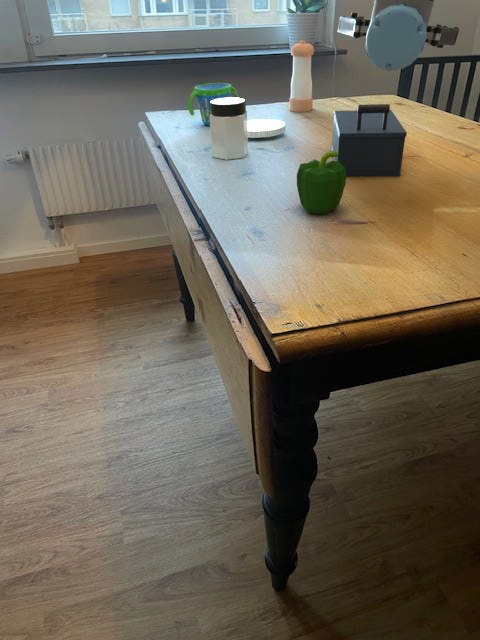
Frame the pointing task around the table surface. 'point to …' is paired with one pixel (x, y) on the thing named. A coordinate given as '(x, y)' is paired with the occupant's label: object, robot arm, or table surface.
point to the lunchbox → (368, 154)
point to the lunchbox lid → (369, 122)
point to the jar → (228, 128)
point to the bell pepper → (321, 184)
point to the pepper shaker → (301, 78)
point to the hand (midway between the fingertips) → (397, 28)
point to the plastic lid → (264, 128)
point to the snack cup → (209, 97)
